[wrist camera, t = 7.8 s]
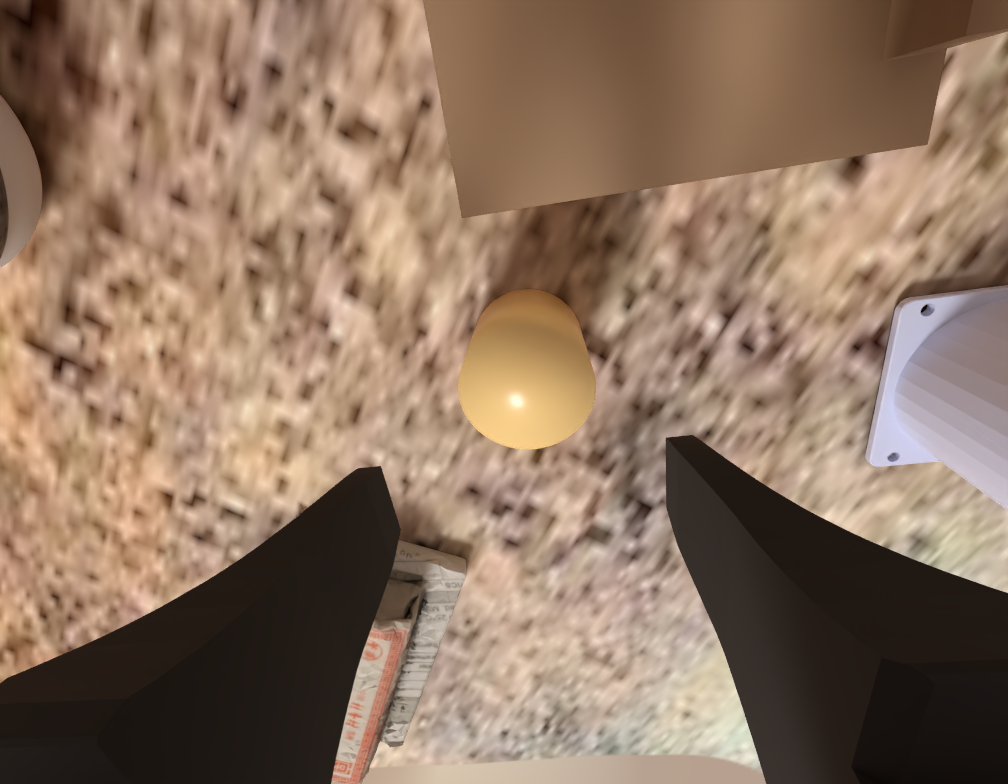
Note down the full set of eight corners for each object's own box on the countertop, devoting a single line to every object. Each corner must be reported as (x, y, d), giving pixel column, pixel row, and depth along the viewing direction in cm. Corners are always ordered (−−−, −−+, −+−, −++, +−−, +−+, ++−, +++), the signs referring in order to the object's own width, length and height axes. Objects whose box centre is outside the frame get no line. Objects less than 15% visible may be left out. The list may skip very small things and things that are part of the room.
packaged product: (389, 806, 30) (234, 771, 30) (407, 726, 35) (273, 693, 34) (460, 625, 23) (253, 571, 22) (472, 551, 27) (300, 504, 26)
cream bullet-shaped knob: (577, 281, 20) (590, 315, 15) (586, 385, 22) (600, 442, 17) (464, 297, 20) (445, 334, 16) (483, 396, 22) (471, 455, 18)
